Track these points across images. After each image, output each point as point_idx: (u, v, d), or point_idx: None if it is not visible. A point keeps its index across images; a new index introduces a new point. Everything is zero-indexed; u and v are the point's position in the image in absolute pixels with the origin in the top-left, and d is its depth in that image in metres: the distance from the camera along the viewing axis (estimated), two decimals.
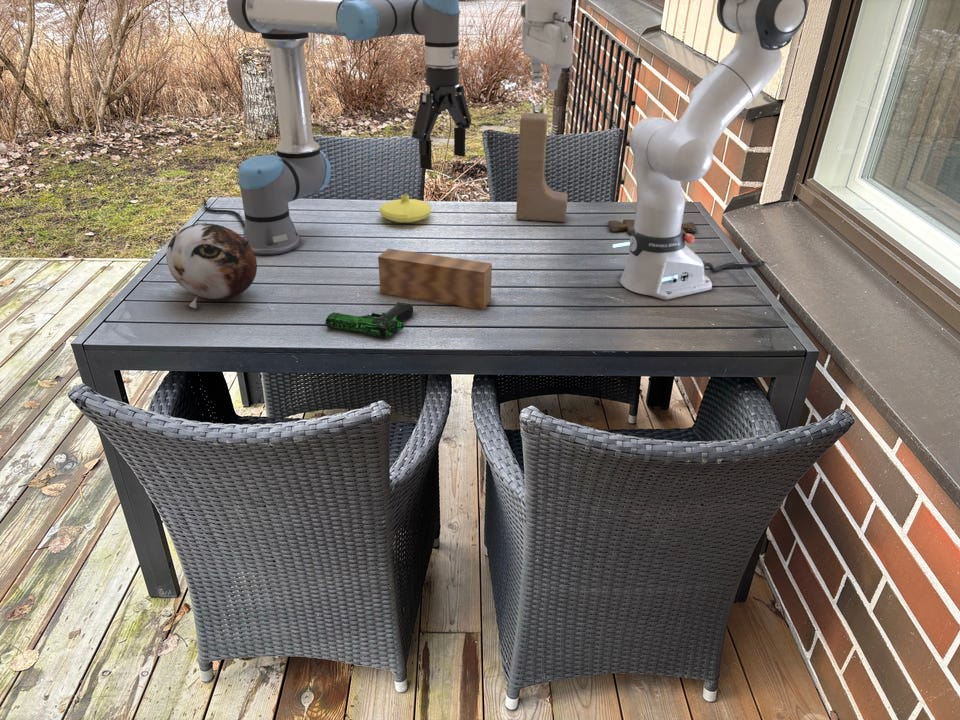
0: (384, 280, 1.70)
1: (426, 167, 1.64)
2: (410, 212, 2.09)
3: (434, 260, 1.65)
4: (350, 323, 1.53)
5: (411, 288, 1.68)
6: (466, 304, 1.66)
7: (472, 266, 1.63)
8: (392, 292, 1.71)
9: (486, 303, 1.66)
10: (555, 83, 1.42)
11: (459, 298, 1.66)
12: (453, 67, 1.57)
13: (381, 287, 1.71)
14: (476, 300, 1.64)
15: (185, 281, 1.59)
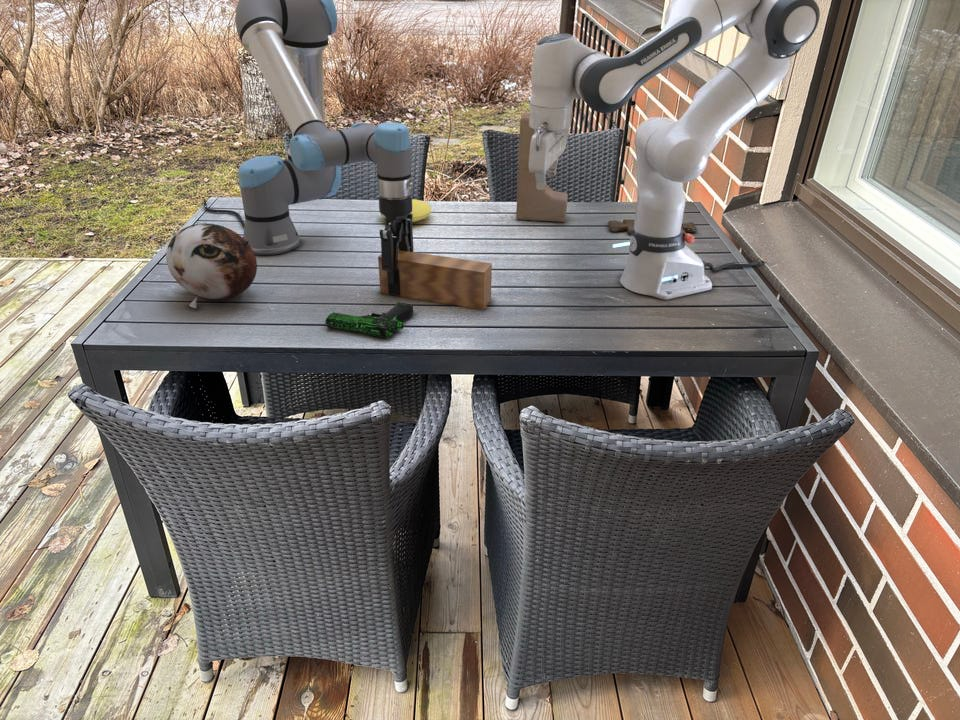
0: (384, 280, 1.70)
1: (395, 293, 1.70)
2: None
3: (434, 260, 1.65)
4: (350, 323, 1.53)
5: (411, 288, 1.68)
6: (466, 304, 1.66)
7: (472, 266, 1.63)
8: None
9: (486, 303, 1.66)
10: (542, 184, 1.53)
11: (459, 298, 1.66)
12: (407, 196, 1.60)
13: (381, 287, 1.71)
14: (476, 300, 1.64)
15: (185, 281, 1.59)
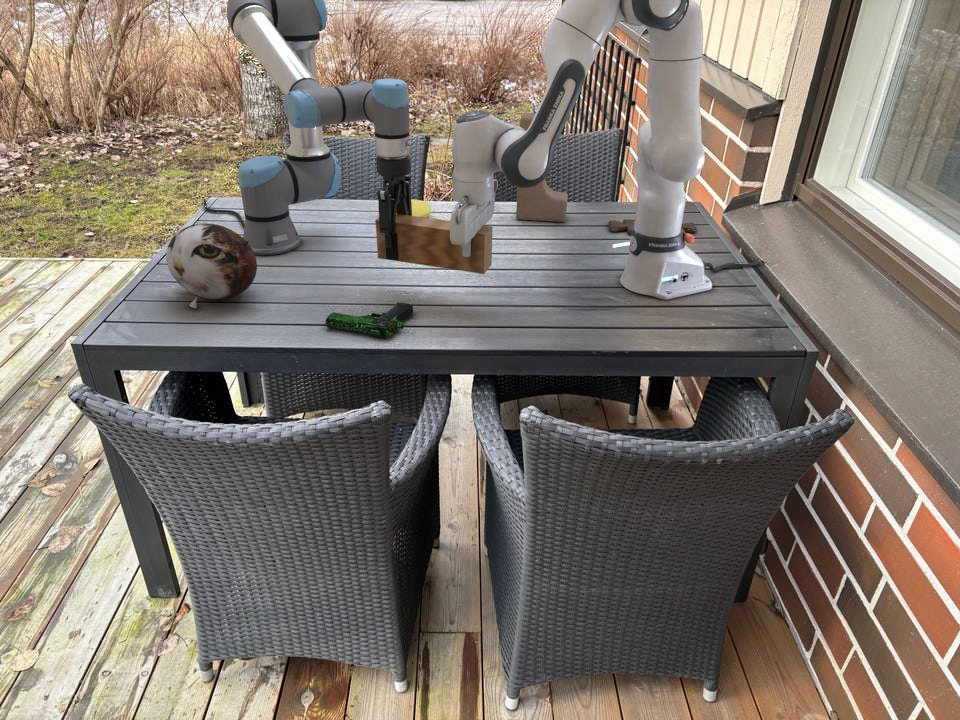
0: (381, 244, 1.65)
1: (393, 258, 1.65)
2: None
3: (433, 224, 1.61)
4: (350, 323, 1.53)
5: (410, 252, 1.64)
6: (466, 268, 1.61)
7: None
8: None
9: (486, 268, 1.62)
10: (467, 251, 1.57)
11: (458, 262, 1.61)
12: (406, 156, 1.56)
13: (379, 252, 1.66)
14: (476, 264, 1.60)
15: (185, 281, 1.59)
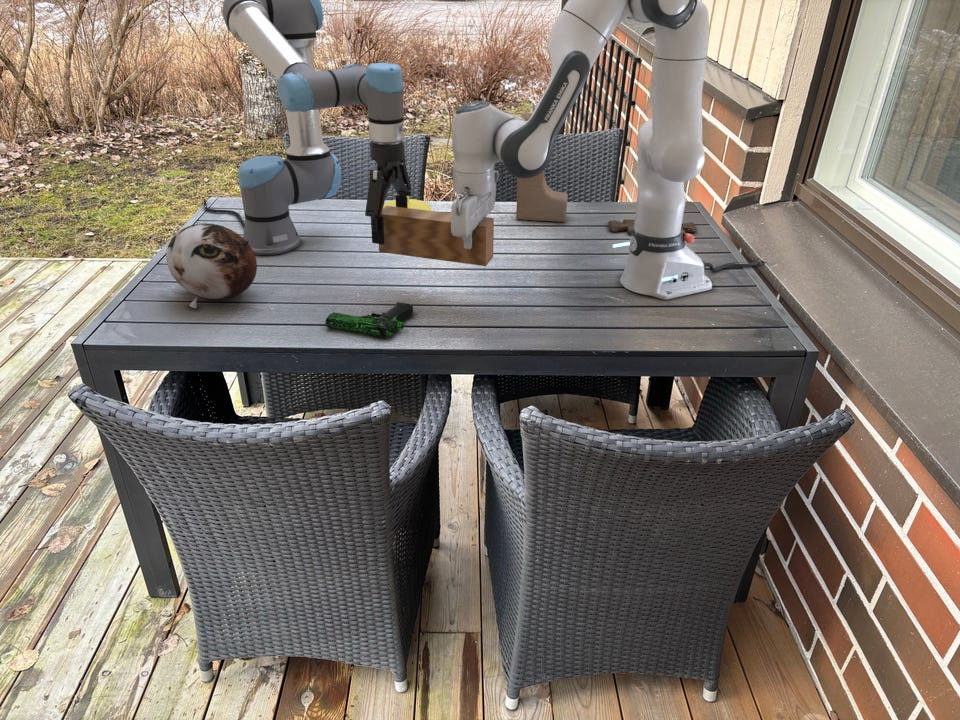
0: None
1: (379, 242, 1.60)
2: None
3: (434, 216, 1.60)
4: (350, 323, 1.53)
5: (411, 245, 1.63)
6: (468, 260, 1.60)
7: None
8: (391, 250, 1.65)
9: (488, 260, 1.61)
10: (469, 243, 1.56)
11: (460, 254, 1.60)
12: (399, 142, 1.55)
13: (380, 245, 1.66)
14: (478, 257, 1.59)
15: (185, 281, 1.59)
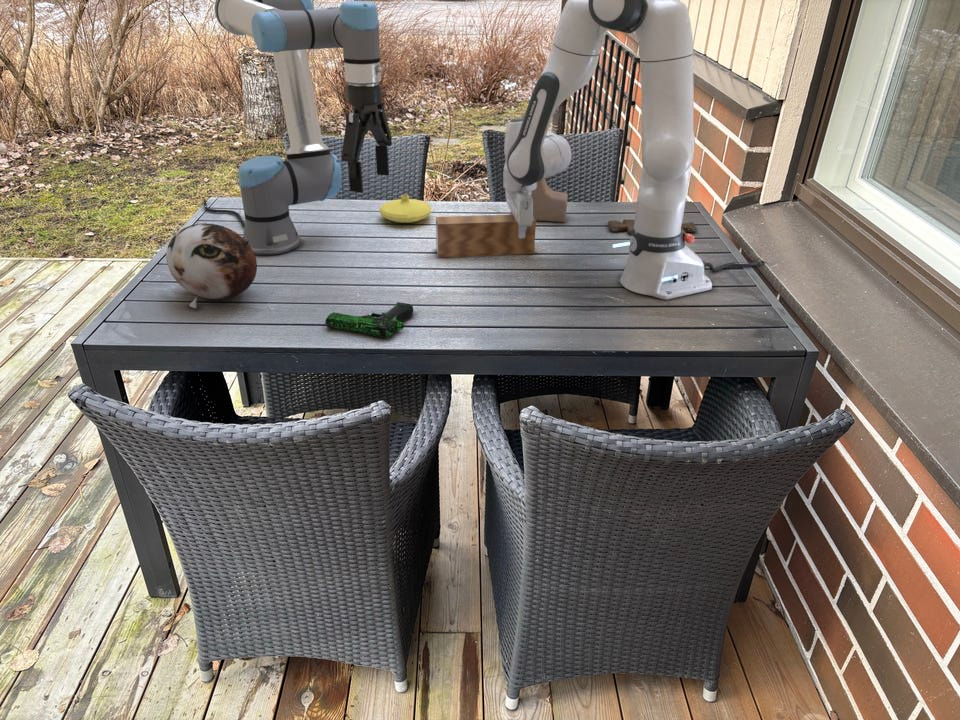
0: (442, 245, 1.90)
1: (357, 190, 1.55)
2: (410, 212, 2.09)
3: (486, 219, 1.90)
4: (350, 323, 1.53)
5: (468, 247, 1.91)
6: (519, 251, 1.93)
7: None
8: (449, 254, 1.91)
9: None
10: (523, 233, 1.88)
11: (512, 247, 1.93)
12: (376, 84, 1.50)
13: (439, 252, 1.90)
14: (527, 247, 1.93)
15: (185, 281, 1.59)
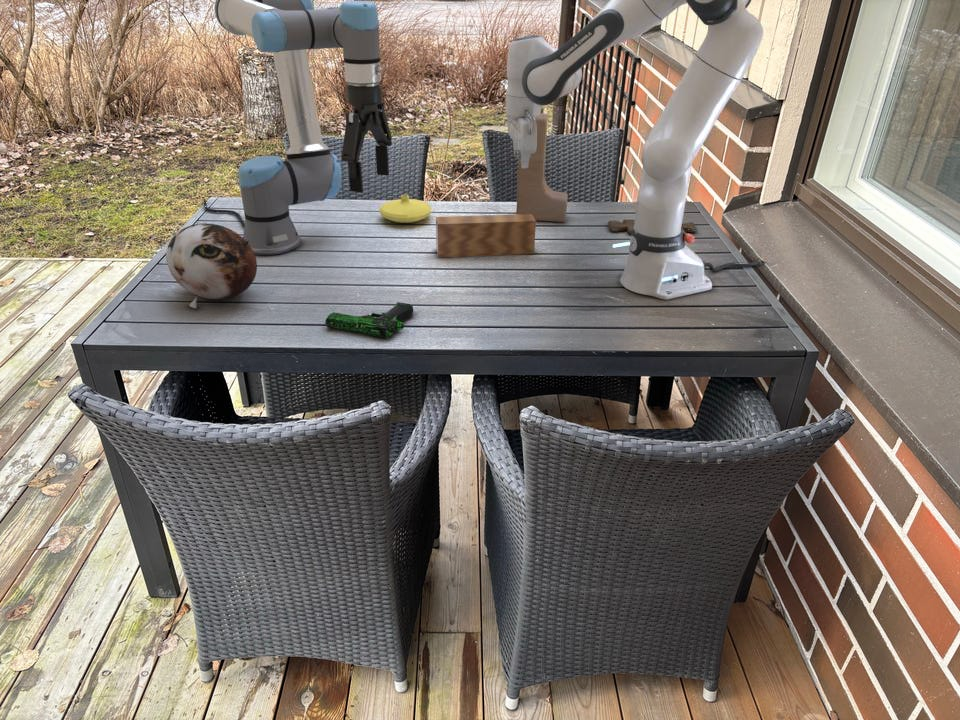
0: (442, 245, 1.90)
1: (357, 190, 1.55)
2: (410, 212, 2.09)
3: (486, 219, 1.90)
4: (350, 323, 1.53)
5: (468, 247, 1.91)
6: (519, 251, 1.93)
7: (520, 218, 1.91)
8: (449, 254, 1.91)
9: None
10: (526, 163, 1.79)
11: (512, 247, 1.93)
12: (376, 84, 1.50)
13: (439, 252, 1.90)
14: (527, 247, 1.93)
15: (185, 281, 1.59)
